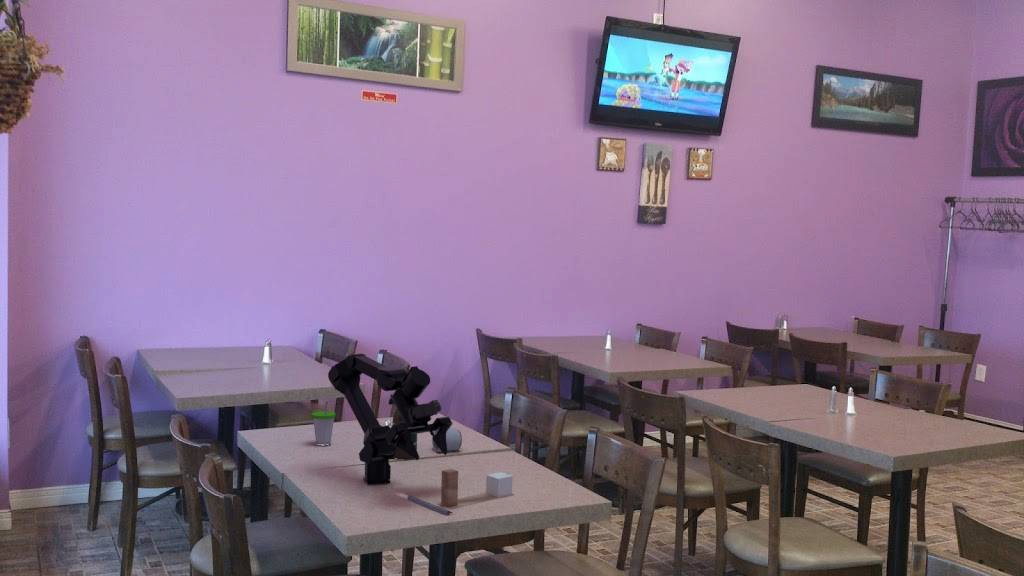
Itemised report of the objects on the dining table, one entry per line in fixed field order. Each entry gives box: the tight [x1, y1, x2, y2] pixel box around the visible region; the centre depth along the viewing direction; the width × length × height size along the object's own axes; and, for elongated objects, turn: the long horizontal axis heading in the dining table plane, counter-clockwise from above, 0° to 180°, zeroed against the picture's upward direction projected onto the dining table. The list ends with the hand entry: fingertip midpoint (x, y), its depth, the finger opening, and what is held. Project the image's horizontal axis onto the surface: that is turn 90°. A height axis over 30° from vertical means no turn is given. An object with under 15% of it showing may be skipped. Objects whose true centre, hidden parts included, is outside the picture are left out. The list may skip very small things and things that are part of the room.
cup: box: [311, 401, 337, 445], centre depth 313 cm, size 8×8×15 cm
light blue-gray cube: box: [485, 471, 514, 498], centre depth 258 cm, size 5×5×5 cm
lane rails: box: [406, 495, 451, 516], centre depth 256 cm, size 17×25×1 cm
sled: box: [436, 468, 515, 514], centre depth 252 cm, size 6×22×10 cm, turn 132°
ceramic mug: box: [431, 427, 463, 453], centre depth 311 cm, size 11×8×8 cm
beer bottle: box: [392, 409, 418, 461], centre depth 299 cm, size 8×8×24 cm
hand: (432, 456), depth 251 cm, fingers open, 9 cm apart
